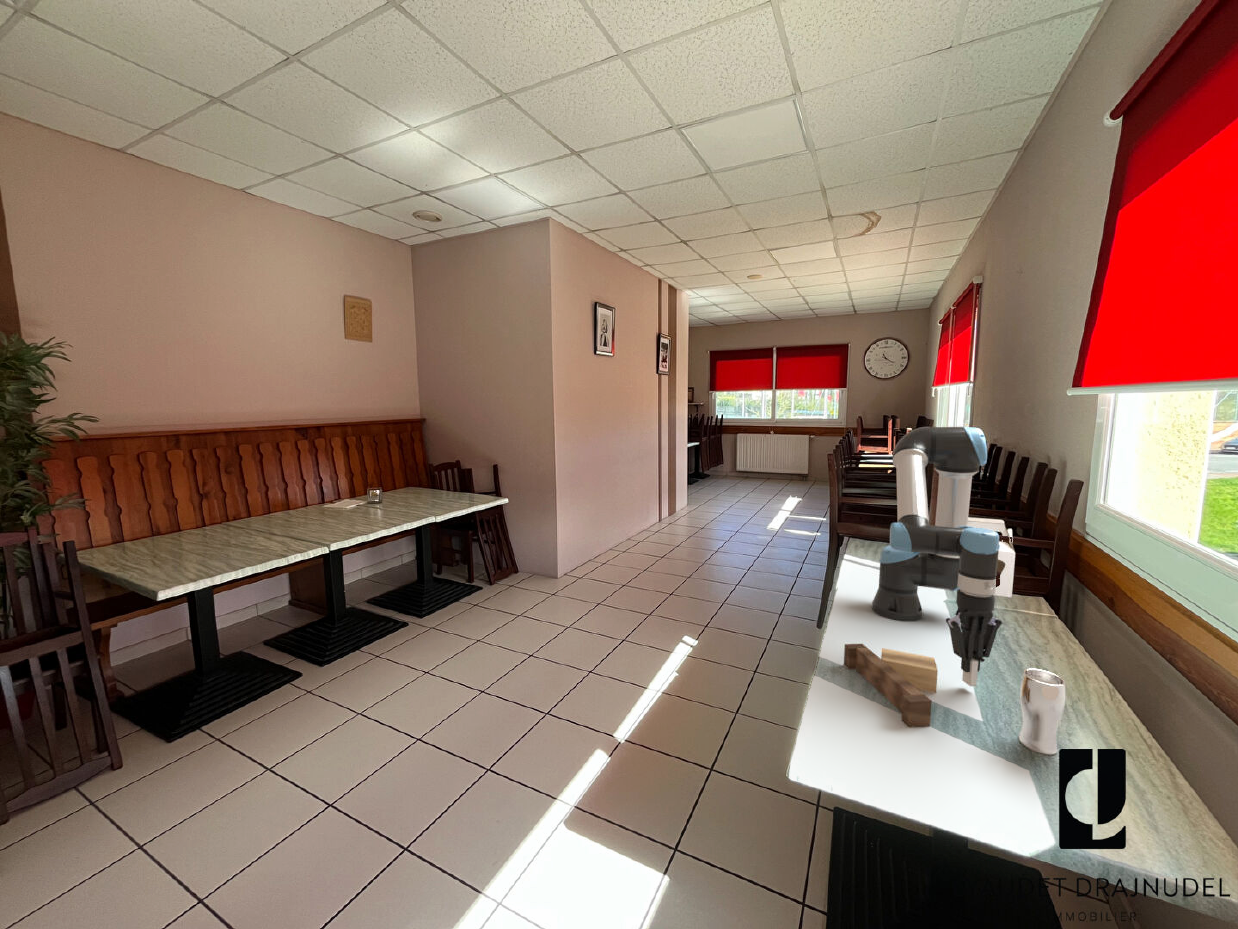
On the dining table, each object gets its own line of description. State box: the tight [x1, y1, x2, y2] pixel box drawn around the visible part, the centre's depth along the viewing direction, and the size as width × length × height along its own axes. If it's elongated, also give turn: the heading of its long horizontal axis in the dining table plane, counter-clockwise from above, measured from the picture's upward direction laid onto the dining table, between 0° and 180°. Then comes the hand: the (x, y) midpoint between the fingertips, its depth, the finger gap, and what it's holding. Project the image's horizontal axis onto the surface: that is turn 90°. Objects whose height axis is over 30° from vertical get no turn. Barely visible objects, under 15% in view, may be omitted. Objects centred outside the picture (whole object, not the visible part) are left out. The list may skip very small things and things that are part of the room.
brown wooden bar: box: [843, 643, 932, 728], centre depth 120 cm, size 27×5×6 cm, turn 4°
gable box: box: [967, 516, 1016, 598], centre depth 190 cm, size 22×13×28 cm, turn 62°
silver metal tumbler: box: [1018, 668, 1066, 756], centre depth 101 cm, size 7×7×15 cm
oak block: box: [880, 647, 938, 694], centre depth 126 cm, size 7×12×6 cm, turn 63°
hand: (969, 683), depth 121 cm, fingers closed
